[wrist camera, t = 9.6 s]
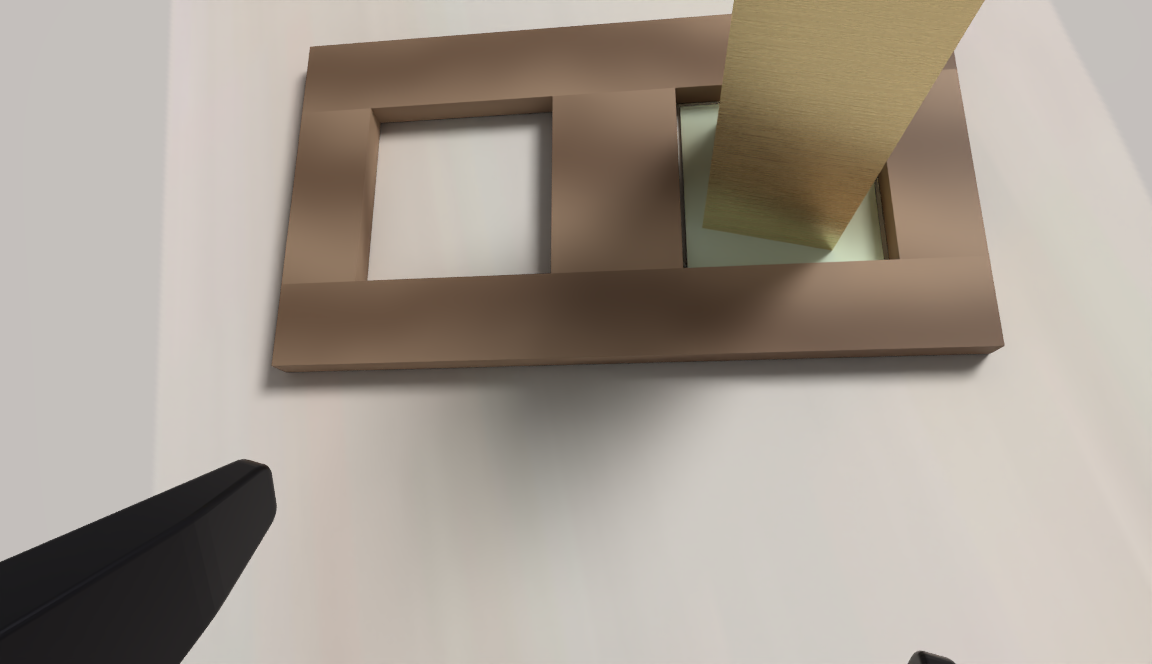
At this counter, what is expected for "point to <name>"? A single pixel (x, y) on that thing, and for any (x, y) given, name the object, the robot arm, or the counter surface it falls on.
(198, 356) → the counter surface
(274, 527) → the counter surface
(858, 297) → the brown double frame
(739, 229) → the tall khaki block
